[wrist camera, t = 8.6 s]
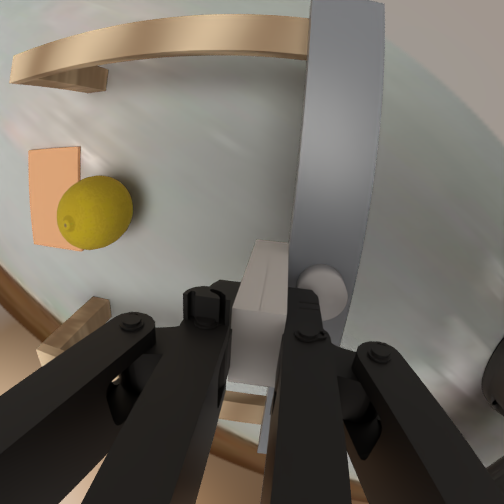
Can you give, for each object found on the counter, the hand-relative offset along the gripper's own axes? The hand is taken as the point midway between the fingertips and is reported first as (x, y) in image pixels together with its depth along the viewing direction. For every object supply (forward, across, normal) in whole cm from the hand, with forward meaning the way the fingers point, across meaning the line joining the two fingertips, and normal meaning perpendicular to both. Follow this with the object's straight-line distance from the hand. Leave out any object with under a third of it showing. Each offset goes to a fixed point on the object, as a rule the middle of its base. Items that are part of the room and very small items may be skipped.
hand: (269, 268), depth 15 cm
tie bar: (0, -2, 0) cm, 2 cm away
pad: (+11, +22, 0) cm, 24 cm away
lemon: (+11, +14, 0) cm, 17 cm away
